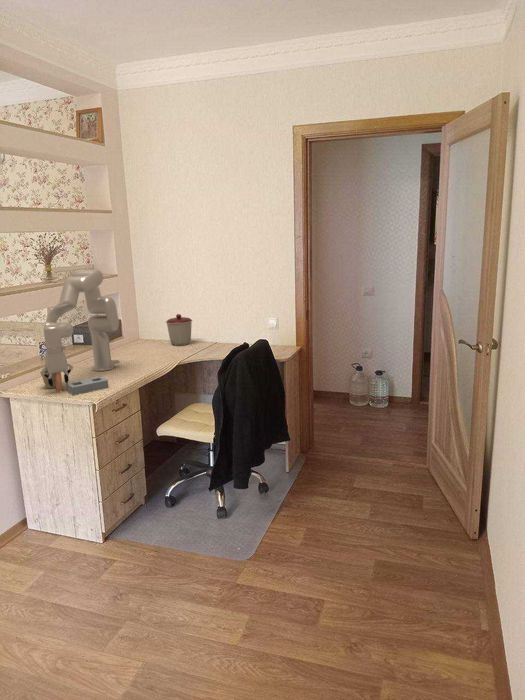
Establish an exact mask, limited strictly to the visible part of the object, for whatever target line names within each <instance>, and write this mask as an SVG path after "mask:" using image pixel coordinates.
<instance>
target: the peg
mask: <svg viewBox="0 0 525 700" xmlns="http://www.w3.org/2000/svg"><path fill="white" fill-rule="evenodd" d="M54 374H55V382H56V387H55V388H56V392H57V391H58V392H57V393H61V392H60V391H62V392H63V391H64V387H63V381H62V372H58V373H54Z"/></svg>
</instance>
